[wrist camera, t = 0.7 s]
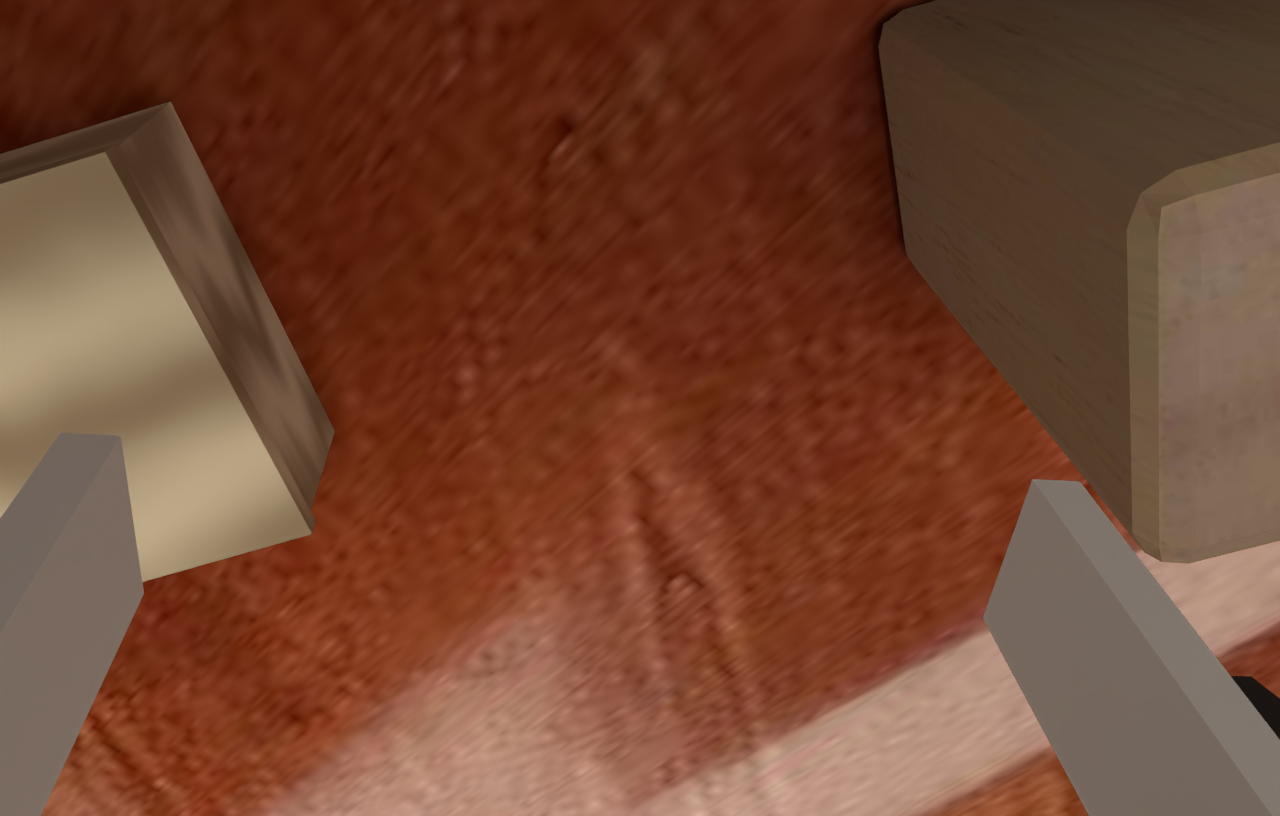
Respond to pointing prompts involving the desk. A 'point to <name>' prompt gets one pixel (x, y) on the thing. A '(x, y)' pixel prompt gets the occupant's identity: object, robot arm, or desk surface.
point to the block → (1110, 237)
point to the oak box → (151, 343)
